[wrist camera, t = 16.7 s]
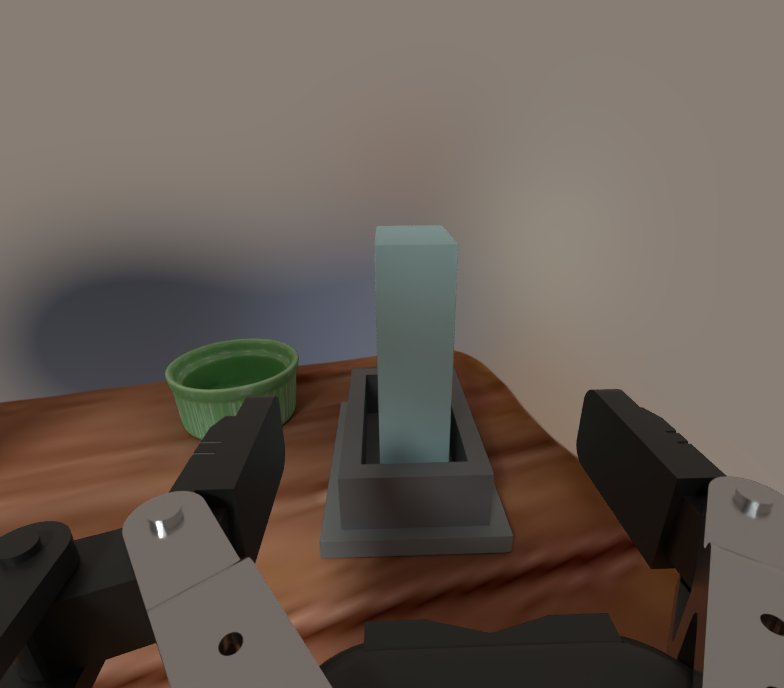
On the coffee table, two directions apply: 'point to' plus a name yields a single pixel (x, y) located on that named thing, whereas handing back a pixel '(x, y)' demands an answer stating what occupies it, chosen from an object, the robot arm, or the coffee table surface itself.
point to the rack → (409, 488)
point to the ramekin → (231, 380)
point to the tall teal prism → (415, 341)
